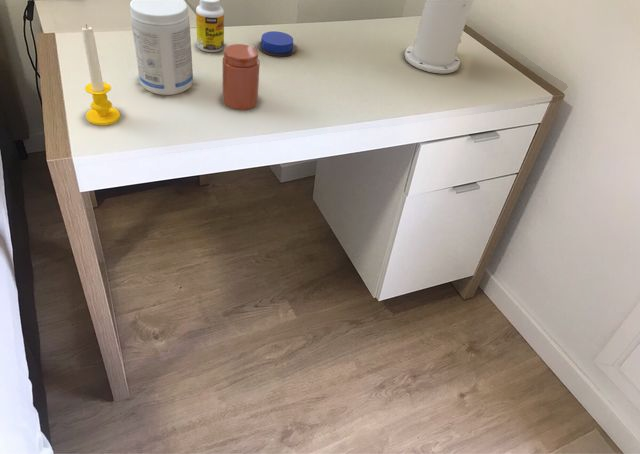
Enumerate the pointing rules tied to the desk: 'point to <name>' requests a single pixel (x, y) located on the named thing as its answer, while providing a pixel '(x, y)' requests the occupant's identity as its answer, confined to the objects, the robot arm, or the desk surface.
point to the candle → (97, 85)
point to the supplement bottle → (210, 26)
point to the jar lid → (277, 42)
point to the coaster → (277, 53)
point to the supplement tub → (162, 45)
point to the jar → (240, 76)
